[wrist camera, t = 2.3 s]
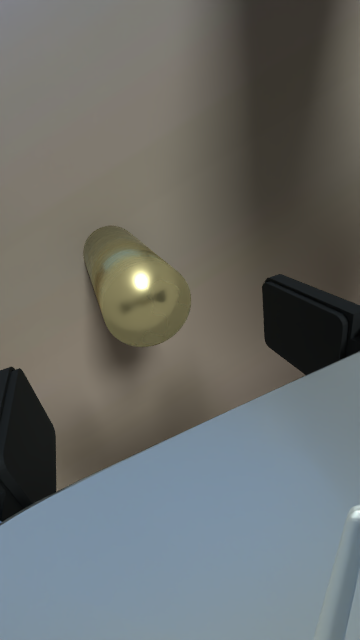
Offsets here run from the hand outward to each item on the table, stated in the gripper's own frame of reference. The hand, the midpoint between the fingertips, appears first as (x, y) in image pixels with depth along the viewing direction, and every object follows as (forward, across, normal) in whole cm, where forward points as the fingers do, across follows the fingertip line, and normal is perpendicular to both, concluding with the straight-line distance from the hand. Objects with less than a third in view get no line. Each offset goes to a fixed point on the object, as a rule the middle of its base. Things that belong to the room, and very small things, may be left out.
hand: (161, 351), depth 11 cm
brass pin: (+13, -1, -1) cm, 13 cm away
